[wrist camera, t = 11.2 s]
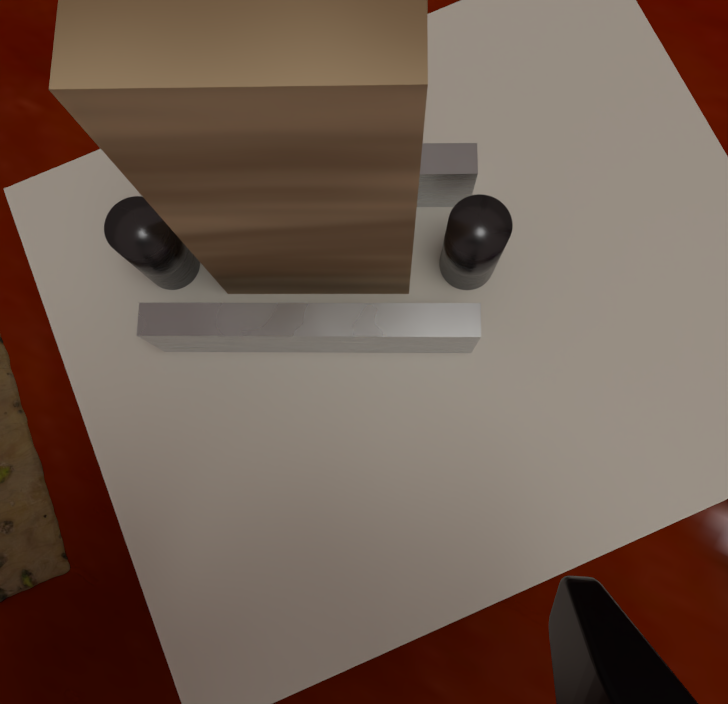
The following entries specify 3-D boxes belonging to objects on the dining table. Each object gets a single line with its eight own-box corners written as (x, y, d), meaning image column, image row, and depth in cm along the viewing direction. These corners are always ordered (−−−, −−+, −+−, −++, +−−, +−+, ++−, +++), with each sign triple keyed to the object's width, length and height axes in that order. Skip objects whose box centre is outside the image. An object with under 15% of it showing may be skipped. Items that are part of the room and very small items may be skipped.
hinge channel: (496, 353, 22) (515, 329, 18) (140, 351, 22) (95, 327, 19) (492, 178, 23) (509, 125, 20) (153, 180, 23) (112, 129, 20)
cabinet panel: (203, 726, 21) (193, 738, 20) (18, 200, 25) (3, 188, 24) (864, 429, 22) (886, 427, 21) (593, -37, 25) (602, -58, 24)
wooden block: (408, 293, 22) (427, 84, 11) (228, 294, 23) (49, 89, 11) (408, 213, 23) (427, -72, 11) (231, 214, 23) (64, -64, 11)
